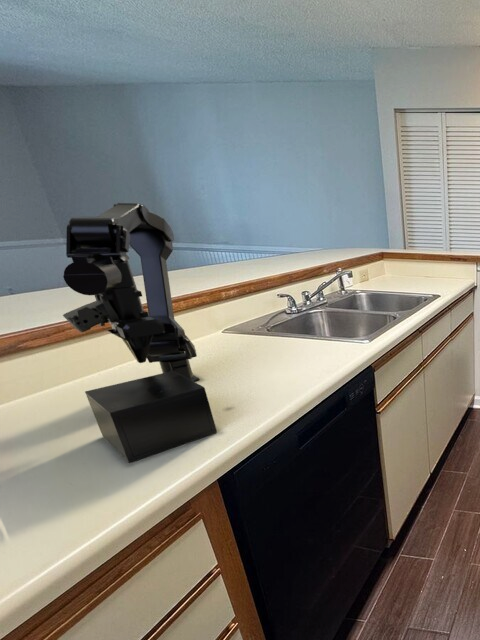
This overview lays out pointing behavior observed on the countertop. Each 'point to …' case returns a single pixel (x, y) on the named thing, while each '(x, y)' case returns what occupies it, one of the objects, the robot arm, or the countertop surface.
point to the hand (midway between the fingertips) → (141, 362)
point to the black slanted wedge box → (151, 414)
